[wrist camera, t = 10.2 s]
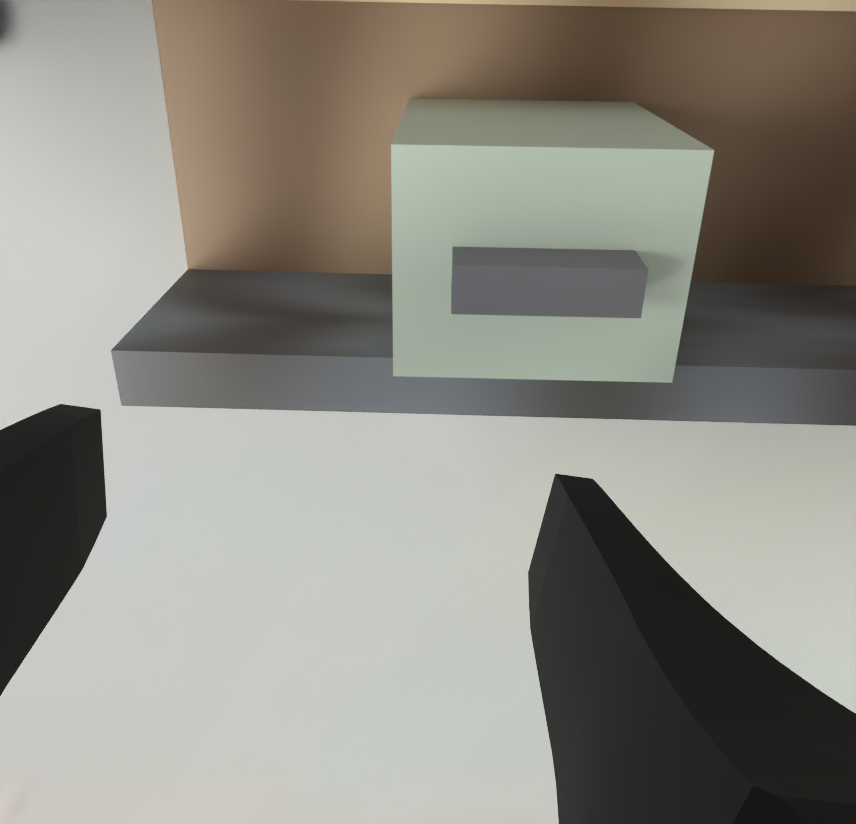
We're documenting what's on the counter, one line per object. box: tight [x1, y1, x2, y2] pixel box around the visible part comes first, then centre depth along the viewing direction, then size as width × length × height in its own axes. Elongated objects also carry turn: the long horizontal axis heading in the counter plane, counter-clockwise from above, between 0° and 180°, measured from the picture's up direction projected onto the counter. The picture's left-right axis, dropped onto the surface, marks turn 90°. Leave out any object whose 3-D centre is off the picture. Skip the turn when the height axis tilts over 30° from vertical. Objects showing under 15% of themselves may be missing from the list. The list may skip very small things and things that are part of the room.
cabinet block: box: [391, 98, 714, 383], centre depth 15 cm, size 5×4×7 cm
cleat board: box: [111, 0, 856, 426], centre depth 15 cm, size 18×14×6 cm
